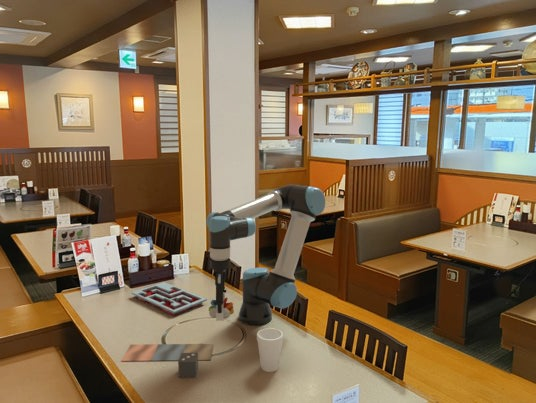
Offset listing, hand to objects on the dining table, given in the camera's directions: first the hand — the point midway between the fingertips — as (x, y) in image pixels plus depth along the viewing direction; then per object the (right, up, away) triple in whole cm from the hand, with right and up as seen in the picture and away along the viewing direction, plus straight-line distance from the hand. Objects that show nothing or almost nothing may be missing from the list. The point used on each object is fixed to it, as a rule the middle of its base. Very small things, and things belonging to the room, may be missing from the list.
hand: (220, 314), depth 164 cm
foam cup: (+19, -17, -7) cm, 27 cm away
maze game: (-32, -7, +51) cm, 61 cm away
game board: (-20, -15, +2) cm, 25 cm away
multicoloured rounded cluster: (0, 0, 0) cm, 1 cm away
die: (-10, -18, -11) cm, 23 cm away
